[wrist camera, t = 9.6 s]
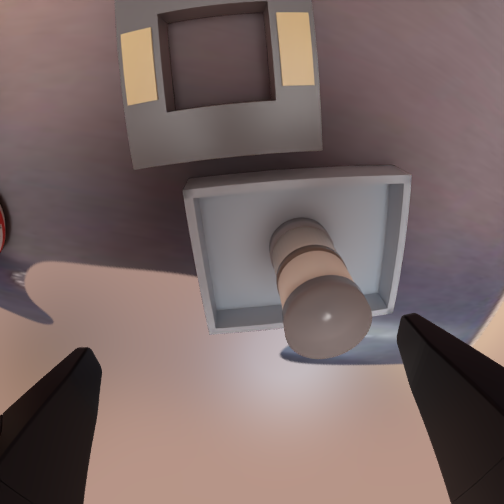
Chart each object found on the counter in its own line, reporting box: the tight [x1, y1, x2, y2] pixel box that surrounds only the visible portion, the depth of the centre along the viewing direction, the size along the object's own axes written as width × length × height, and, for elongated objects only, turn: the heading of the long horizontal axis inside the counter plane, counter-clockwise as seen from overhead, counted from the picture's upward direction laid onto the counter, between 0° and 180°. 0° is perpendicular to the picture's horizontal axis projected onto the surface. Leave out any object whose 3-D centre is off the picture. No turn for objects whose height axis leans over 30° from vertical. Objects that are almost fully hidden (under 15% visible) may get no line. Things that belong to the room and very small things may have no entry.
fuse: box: [269, 217, 372, 359], centre depth 17 cm, size 4×4×8 cm
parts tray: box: [182, 165, 412, 335], centre depth 20 cm, size 13×10×2 cm
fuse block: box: [115, 0, 322, 170], centre depth 15 cm, size 10×11×3 cm
